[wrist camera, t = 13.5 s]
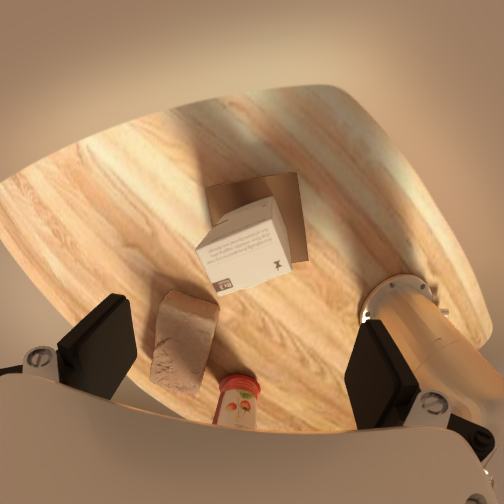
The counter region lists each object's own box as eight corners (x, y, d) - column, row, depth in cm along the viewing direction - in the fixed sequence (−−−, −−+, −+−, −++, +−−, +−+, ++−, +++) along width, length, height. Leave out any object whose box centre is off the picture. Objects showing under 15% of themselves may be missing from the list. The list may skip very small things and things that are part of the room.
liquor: (212, 387, 44) (176, 531, 18) (231, 361, 42) (198, 526, 16) (248, 402, 45) (233, 544, 18) (270, 379, 43) (264, 538, 16)
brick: (168, 286, 39) (156, 301, 35) (223, 304, 39) (217, 321, 35) (157, 366, 44) (148, 383, 40) (202, 381, 45) (196, 399, 40)
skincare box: (272, 194, 30) (273, 211, 18) (288, 231, 31) (297, 271, 19) (220, 215, 31) (190, 245, 19) (237, 251, 32) (217, 300, 20)
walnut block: (292, 171, 34) (296, 172, 29) (303, 248, 36) (308, 260, 32) (214, 185, 35) (205, 188, 30) (229, 259, 37) (223, 272, 33)
